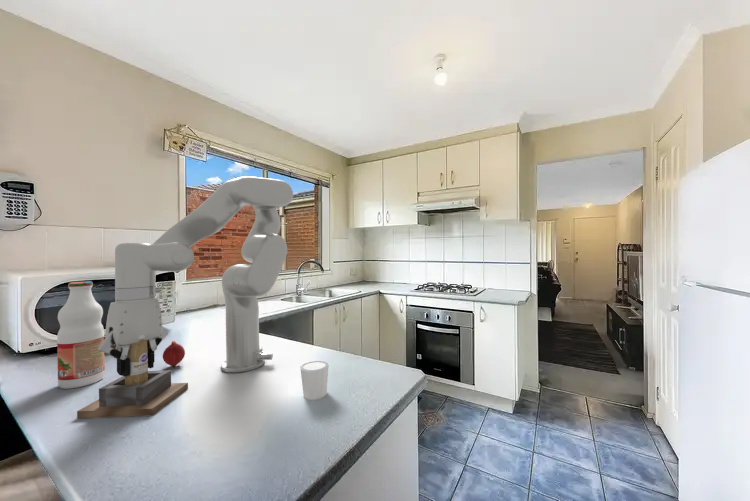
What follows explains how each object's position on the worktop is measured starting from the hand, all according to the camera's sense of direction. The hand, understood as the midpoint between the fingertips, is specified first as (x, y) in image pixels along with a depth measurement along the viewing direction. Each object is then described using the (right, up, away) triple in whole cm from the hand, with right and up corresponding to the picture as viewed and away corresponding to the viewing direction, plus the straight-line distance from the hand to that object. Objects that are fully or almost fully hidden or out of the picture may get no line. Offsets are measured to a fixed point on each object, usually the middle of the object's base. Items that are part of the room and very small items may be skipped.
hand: (136, 370), depth 72 cm
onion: (-6, -8, +23) cm, 25 cm away
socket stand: (0, -8, 0) cm, 8 cm away
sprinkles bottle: (0, -4, 0) cm, 4 cm away
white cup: (+42, -7, +2) cm, 43 cm away
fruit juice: (-25, -8, +12) cm, 29 cm away
